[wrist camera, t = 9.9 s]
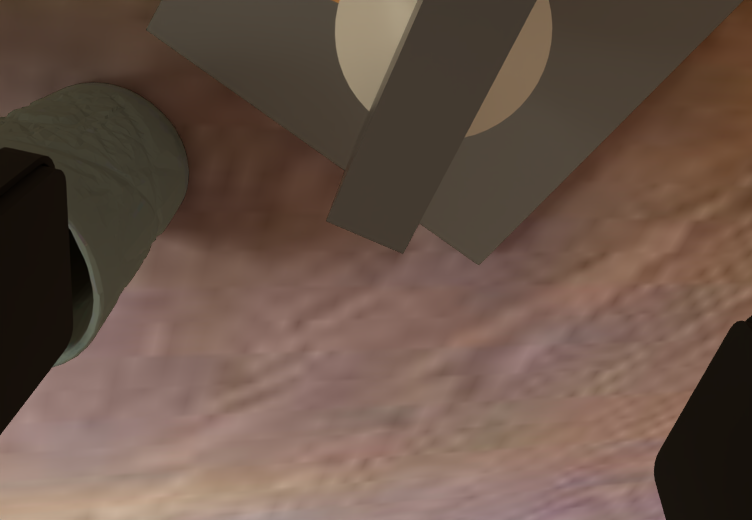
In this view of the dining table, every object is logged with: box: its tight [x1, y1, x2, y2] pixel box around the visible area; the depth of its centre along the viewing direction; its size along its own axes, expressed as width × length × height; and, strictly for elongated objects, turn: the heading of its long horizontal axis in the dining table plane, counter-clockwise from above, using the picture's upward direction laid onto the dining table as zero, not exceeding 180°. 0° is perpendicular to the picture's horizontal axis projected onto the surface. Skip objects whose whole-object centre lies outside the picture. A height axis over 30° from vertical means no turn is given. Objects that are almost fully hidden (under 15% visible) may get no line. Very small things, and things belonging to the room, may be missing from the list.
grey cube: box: [326, 0, 552, 254], centre depth 22 cm, size 9×9×9 cm
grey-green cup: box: [0, 83, 189, 367], centre depth 34 cm, size 10×10×12 cm
